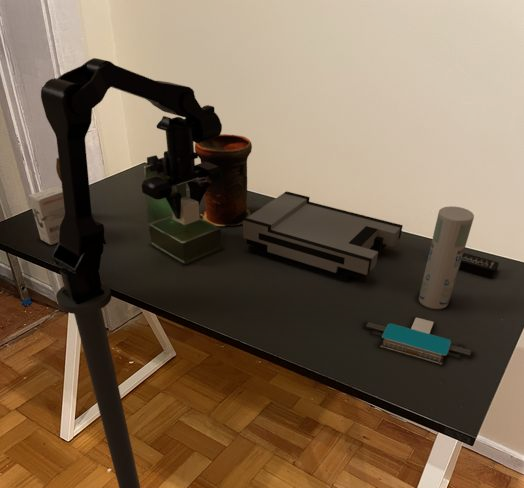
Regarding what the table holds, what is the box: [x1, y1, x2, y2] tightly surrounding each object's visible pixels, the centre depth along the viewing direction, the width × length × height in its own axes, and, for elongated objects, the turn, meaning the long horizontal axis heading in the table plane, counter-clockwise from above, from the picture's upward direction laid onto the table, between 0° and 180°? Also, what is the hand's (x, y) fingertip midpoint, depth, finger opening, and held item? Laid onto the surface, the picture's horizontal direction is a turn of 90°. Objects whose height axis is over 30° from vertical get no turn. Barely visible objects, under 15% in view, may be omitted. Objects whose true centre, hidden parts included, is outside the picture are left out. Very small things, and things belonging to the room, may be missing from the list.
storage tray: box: [148, 215, 222, 266], centre depth 127 cm, size 13×11×6 cm
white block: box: [172, 195, 201, 225], centre depth 122 cm, size 4×4×4 cm
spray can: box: [418, 206, 475, 310], centre depth 105 cm, size 6×6×20 cm
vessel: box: [194, 133, 253, 227], centre depth 137 cm, size 14×14×20 cm
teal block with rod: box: [365, 317, 472, 366], centre depth 101 cm, size 20×12×2 cm, turn 64°
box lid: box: [143, 165, 188, 224], centre depth 125 cm, size 14×11×5 cm
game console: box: [242, 190, 403, 282], centre depth 125 cm, size 21×32×8 cm, turn 58°
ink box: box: [28, 185, 65, 246], centre depth 128 cm, size 9×5×12 cm, turn 139°
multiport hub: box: [458, 252, 500, 280], centre depth 123 cm, size 4×14×2 cm, turn 57°
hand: (185, 215), depth 123 cm, fingers closed on white block, 4 cm apart
